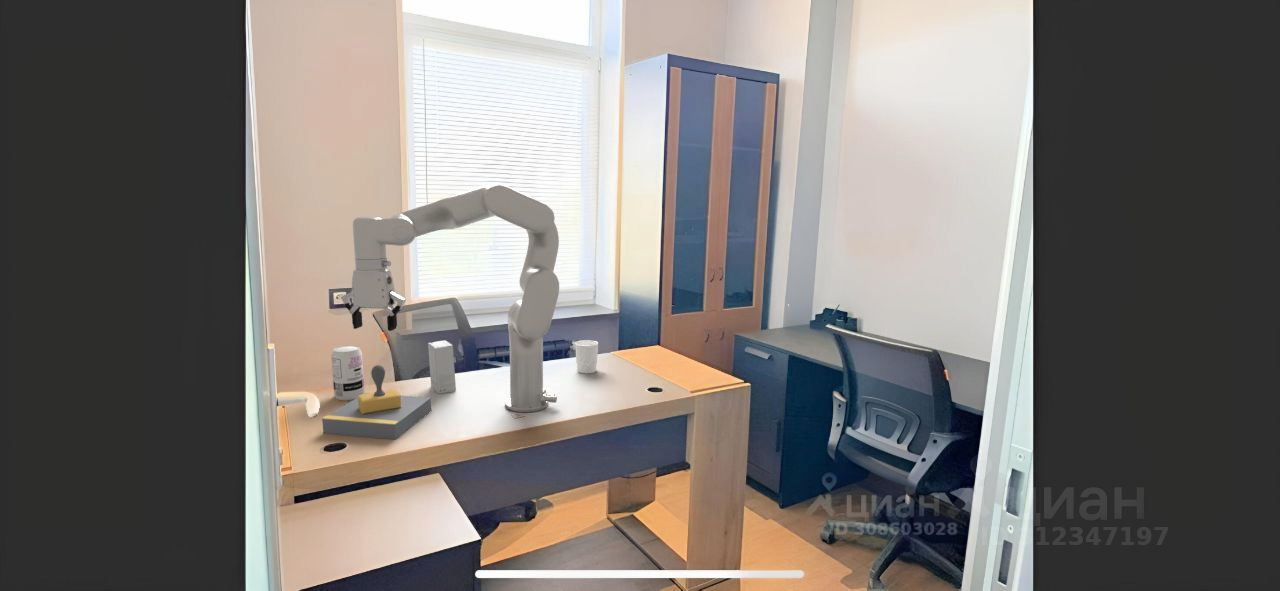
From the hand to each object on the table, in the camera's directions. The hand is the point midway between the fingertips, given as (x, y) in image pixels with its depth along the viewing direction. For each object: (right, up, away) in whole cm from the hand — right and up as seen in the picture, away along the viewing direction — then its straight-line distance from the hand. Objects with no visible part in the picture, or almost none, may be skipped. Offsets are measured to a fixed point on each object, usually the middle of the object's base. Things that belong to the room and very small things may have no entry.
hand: (375, 328), depth 168 cm
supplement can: (-17, -22, +23) cm, 36 cm away
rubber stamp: (0, -22, +4) cm, 22 cm away
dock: (-1, -26, +5) cm, 26 cm away
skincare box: (+8, -21, +32) cm, 39 cm away
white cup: (+52, -18, +54) cm, 76 cm away
